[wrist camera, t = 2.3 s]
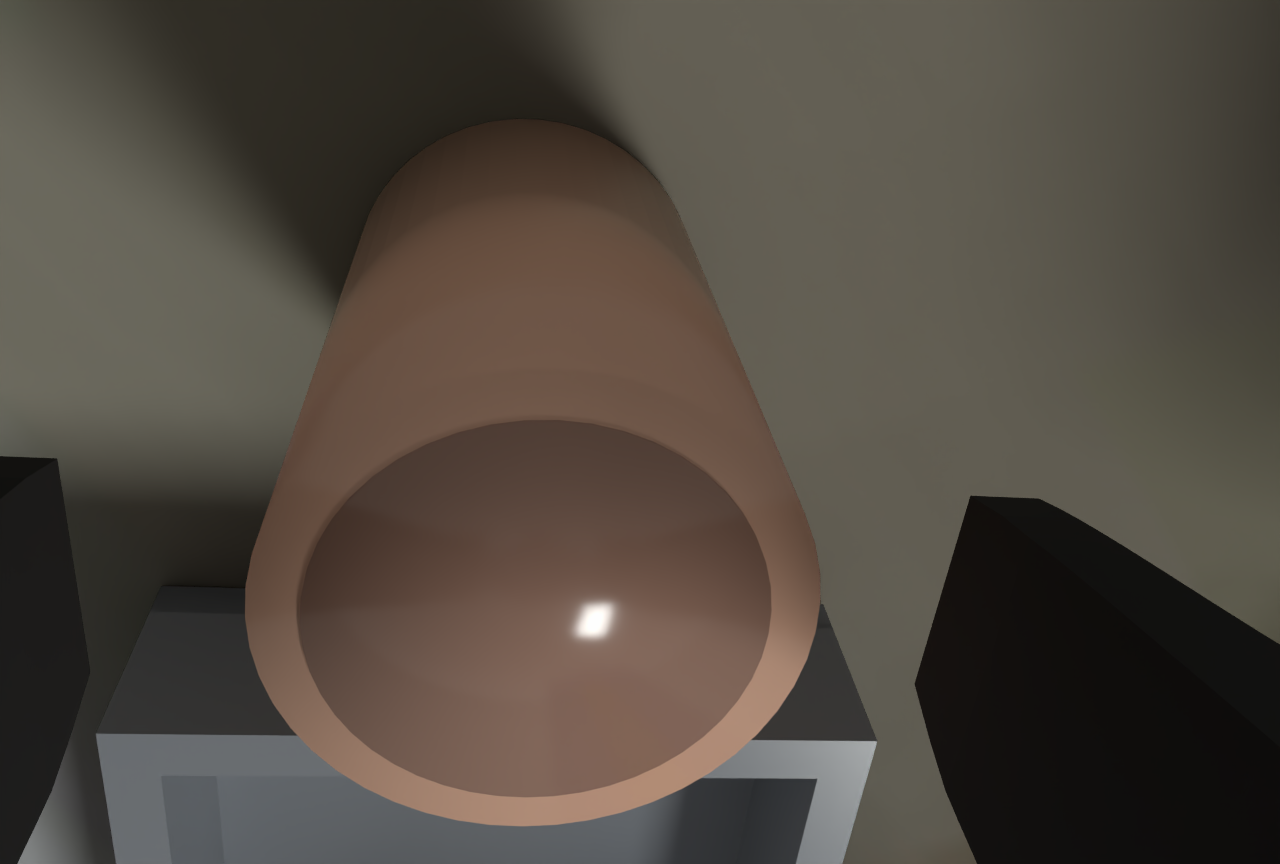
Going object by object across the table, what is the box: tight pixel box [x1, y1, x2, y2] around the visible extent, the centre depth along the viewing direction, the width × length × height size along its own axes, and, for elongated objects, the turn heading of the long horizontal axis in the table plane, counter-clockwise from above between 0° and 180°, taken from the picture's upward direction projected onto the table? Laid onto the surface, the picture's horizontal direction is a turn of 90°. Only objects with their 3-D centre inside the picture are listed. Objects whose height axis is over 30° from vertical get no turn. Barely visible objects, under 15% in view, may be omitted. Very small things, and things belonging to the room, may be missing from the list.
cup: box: [245, 119, 820, 826], centre depth 12 cm, size 4×4×7 cm
